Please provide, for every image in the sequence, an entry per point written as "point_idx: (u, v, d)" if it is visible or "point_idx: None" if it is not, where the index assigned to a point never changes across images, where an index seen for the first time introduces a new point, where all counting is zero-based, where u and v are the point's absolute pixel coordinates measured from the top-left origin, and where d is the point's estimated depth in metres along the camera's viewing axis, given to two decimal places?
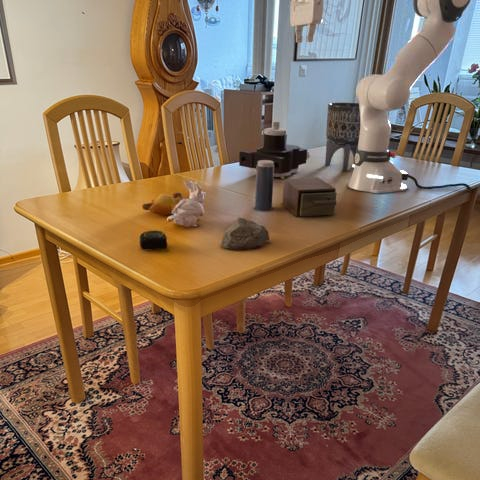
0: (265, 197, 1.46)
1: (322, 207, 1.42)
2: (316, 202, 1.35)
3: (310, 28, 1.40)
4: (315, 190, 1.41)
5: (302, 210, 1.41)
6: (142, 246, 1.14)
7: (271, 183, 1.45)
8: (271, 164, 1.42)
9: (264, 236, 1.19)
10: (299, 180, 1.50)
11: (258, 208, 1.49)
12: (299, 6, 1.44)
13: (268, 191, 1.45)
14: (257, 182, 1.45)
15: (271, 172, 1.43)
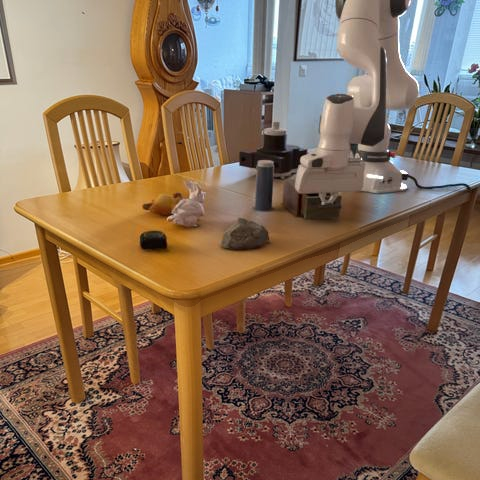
0: (265, 197, 1.46)
1: (327, 210, 1.39)
2: (321, 206, 1.32)
3: None
4: None
5: (306, 214, 1.37)
6: (142, 246, 1.14)
7: (271, 183, 1.45)
8: (271, 164, 1.42)
9: (264, 236, 1.19)
10: None
11: (258, 208, 1.49)
12: (324, 175, 1.28)
13: (268, 191, 1.45)
14: (257, 182, 1.45)
15: (271, 172, 1.43)
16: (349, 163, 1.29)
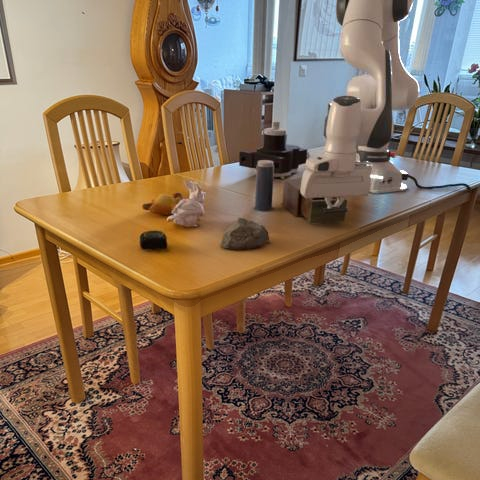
0: (265, 197, 1.46)
1: (332, 214, 1.35)
2: (326, 209, 1.29)
3: None
4: None
5: (311, 218, 1.34)
6: (142, 246, 1.14)
7: (271, 183, 1.45)
8: (271, 164, 1.42)
9: (264, 236, 1.19)
10: (299, 180, 1.50)
11: (258, 208, 1.49)
12: (330, 178, 1.25)
13: (268, 191, 1.45)
14: (257, 182, 1.45)
15: (271, 172, 1.43)
16: (356, 166, 1.26)
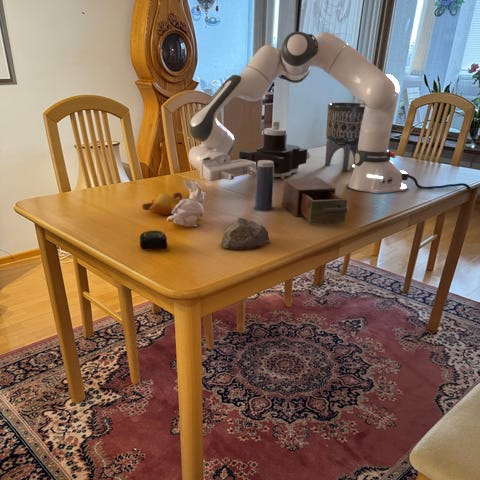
0: (265, 197, 1.46)
1: (332, 214, 1.35)
2: (326, 209, 1.29)
3: None
4: (315, 190, 1.41)
5: (311, 218, 1.34)
6: (142, 246, 1.14)
7: (271, 183, 1.45)
8: (271, 164, 1.42)
9: (264, 236, 1.19)
10: (299, 180, 1.50)
11: (258, 208, 1.49)
12: (220, 165, 1.59)
13: (268, 191, 1.45)
14: (257, 182, 1.45)
15: (271, 172, 1.43)
16: None
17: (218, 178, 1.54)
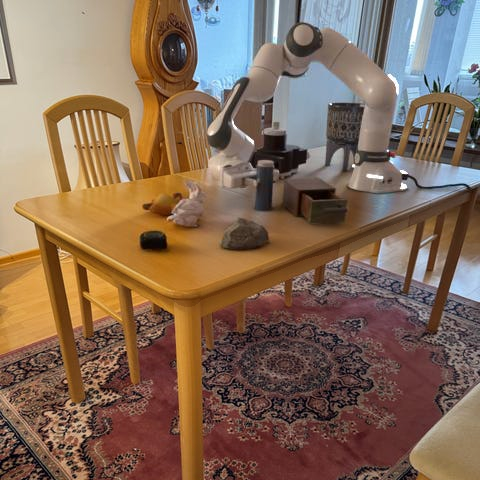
0: (265, 197, 1.46)
1: (332, 214, 1.35)
2: (326, 209, 1.29)
3: None
4: (315, 190, 1.41)
5: (311, 218, 1.34)
6: (142, 246, 1.14)
7: (271, 183, 1.45)
8: (271, 164, 1.42)
9: (264, 236, 1.19)
10: (299, 180, 1.50)
11: (258, 208, 1.49)
12: (241, 172, 1.50)
13: (268, 190, 1.45)
14: None
15: (271, 172, 1.43)
16: None
17: (239, 185, 1.46)
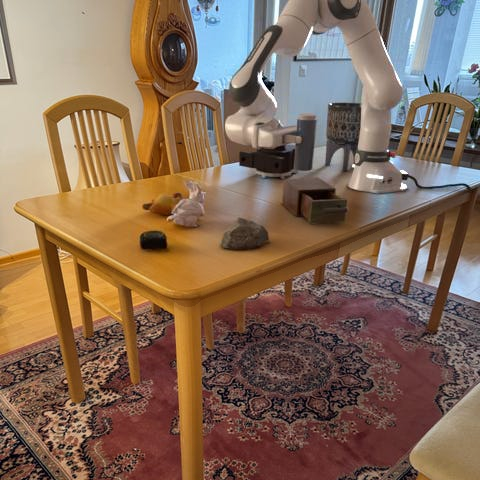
0: (309, 155, 1.33)
1: (332, 214, 1.35)
2: (326, 209, 1.29)
3: None
4: (315, 190, 1.41)
5: (311, 218, 1.34)
6: (142, 246, 1.14)
7: (314, 139, 1.31)
8: (315, 117, 1.28)
9: (264, 236, 1.19)
10: (299, 180, 1.50)
11: (300, 168, 1.34)
12: (275, 130, 1.35)
13: (311, 147, 1.32)
14: None
15: (315, 126, 1.29)
16: None
17: (280, 143, 1.30)
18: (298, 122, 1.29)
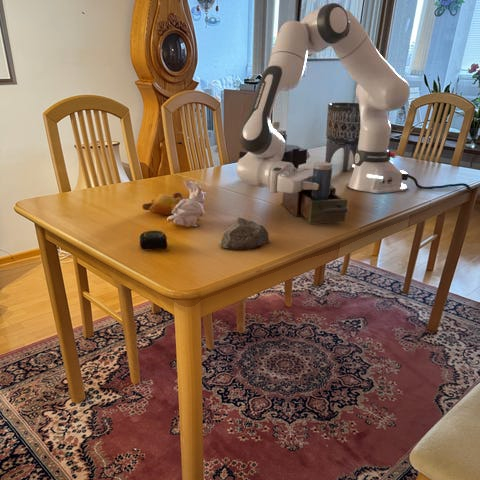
0: None
1: (332, 214, 1.35)
2: (326, 209, 1.29)
3: None
4: None
5: (311, 218, 1.34)
6: (142, 246, 1.14)
7: (330, 186, 1.35)
8: (331, 166, 1.32)
9: (263, 236, 1.19)
10: None
11: None
12: (292, 175, 1.37)
13: (328, 194, 1.35)
14: None
15: (331, 174, 1.33)
16: None
17: (300, 189, 1.33)
18: (315, 171, 1.32)
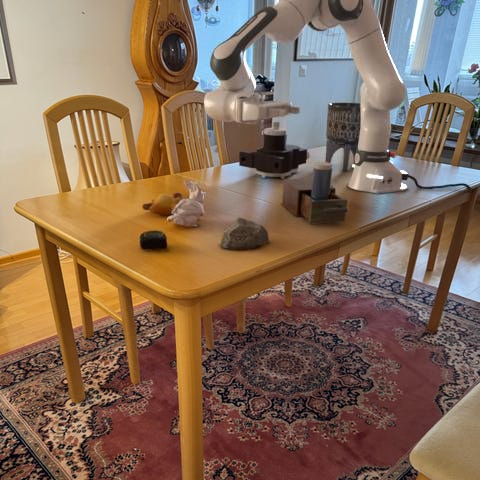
0: None
1: (332, 214, 1.35)
2: (326, 209, 1.29)
3: None
4: None
5: (311, 218, 1.34)
6: (142, 246, 1.14)
7: (330, 186, 1.35)
8: (331, 166, 1.32)
9: (263, 236, 1.19)
10: (299, 180, 1.50)
11: None
12: (258, 104, 1.33)
13: (328, 194, 1.35)
14: (316, 186, 1.34)
15: (331, 174, 1.33)
16: None
17: (266, 116, 1.29)
18: (315, 171, 1.32)
